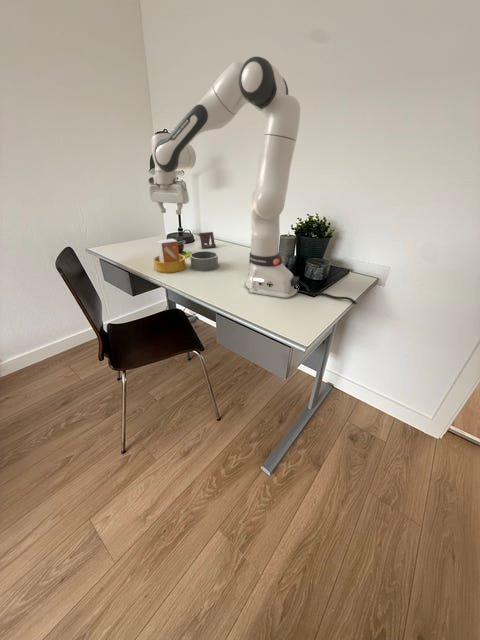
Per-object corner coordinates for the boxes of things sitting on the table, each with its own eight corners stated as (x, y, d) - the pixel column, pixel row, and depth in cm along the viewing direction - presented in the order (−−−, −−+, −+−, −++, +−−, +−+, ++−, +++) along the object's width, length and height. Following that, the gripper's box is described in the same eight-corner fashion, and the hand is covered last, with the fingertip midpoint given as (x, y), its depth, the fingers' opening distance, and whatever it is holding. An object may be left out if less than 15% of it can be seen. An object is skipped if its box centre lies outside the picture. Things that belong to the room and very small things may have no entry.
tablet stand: (202, 248, 163) (201, 234, 159) (198, 245, 169) (197, 232, 165) (215, 247, 166) (215, 233, 162) (212, 244, 172) (211, 231, 168)
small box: (165, 270, 128) (161, 243, 121) (160, 266, 133) (156, 240, 126) (180, 267, 132) (177, 240, 125) (175, 263, 137) (172, 238, 130)
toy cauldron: (176, 249, 161) (174, 230, 156) (195, 253, 155) (194, 234, 149) (158, 255, 150) (155, 235, 145) (178, 260, 144) (175, 239, 138)
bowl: (191, 266, 135) (190, 256, 132) (170, 275, 124) (169, 265, 121) (170, 261, 141) (168, 252, 139) (148, 269, 130) (146, 259, 128)
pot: (223, 265, 137) (223, 253, 134) (207, 273, 127) (206, 260, 124) (202, 260, 143) (201, 249, 140) (185, 267, 133) (184, 256, 130)
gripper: (190, 179, 112) (193, 214, 119) (155, 178, 121) (160, 211, 128) (180, 179, 107) (183, 216, 114) (144, 179, 116) (150, 212, 123)
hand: (171, 213), depth 121 cm, fingers open, 8 cm apart
